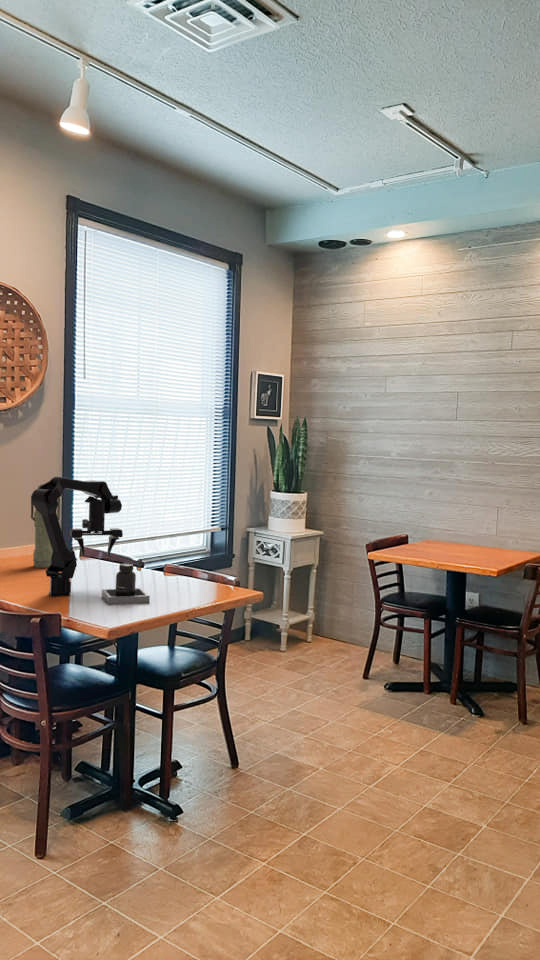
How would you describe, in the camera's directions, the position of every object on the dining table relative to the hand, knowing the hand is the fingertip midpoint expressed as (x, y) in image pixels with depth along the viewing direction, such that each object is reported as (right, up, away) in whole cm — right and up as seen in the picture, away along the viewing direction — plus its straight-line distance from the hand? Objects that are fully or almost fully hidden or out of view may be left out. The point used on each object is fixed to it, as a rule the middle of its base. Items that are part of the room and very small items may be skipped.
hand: (95, 555), depth 289 cm
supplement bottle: (+14, -13, -18) cm, 27 cm away
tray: (+14, -14, -18) cm, 27 cm away
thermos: (-32, -9, +42) cm, 53 cm away
